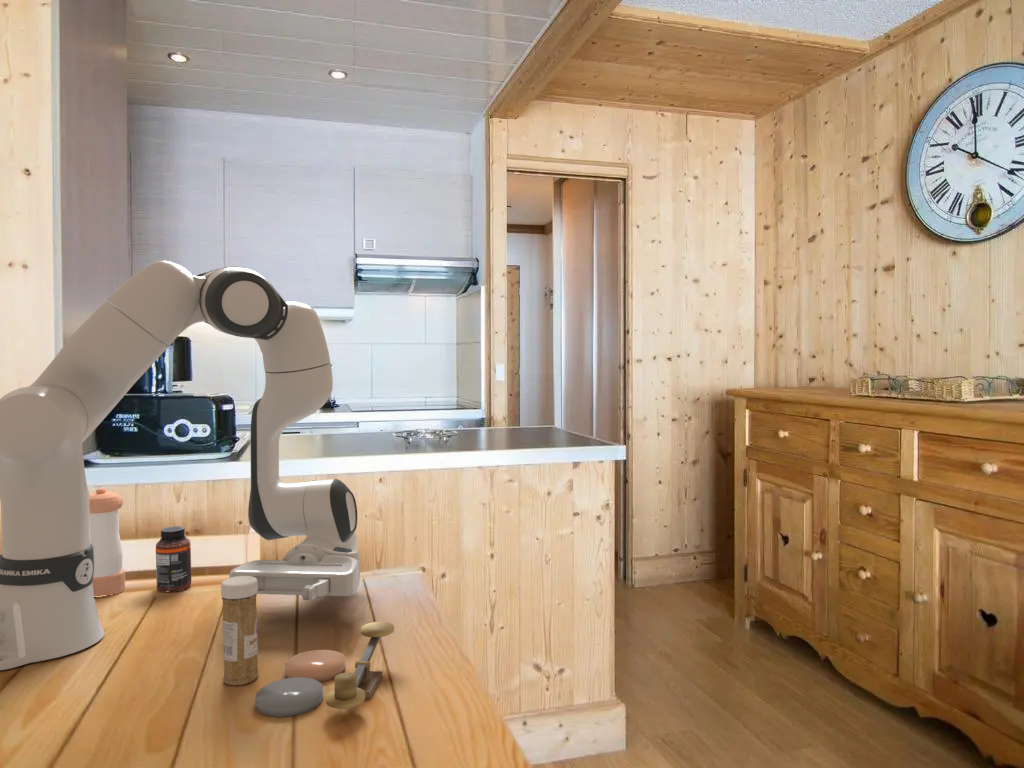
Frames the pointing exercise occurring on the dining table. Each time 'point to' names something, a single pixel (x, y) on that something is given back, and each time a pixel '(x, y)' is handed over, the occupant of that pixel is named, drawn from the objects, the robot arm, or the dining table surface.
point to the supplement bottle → (173, 560)
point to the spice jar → (239, 629)
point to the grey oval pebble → (289, 697)
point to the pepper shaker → (106, 543)
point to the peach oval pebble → (315, 665)
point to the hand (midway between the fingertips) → (276, 594)
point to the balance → (359, 672)
